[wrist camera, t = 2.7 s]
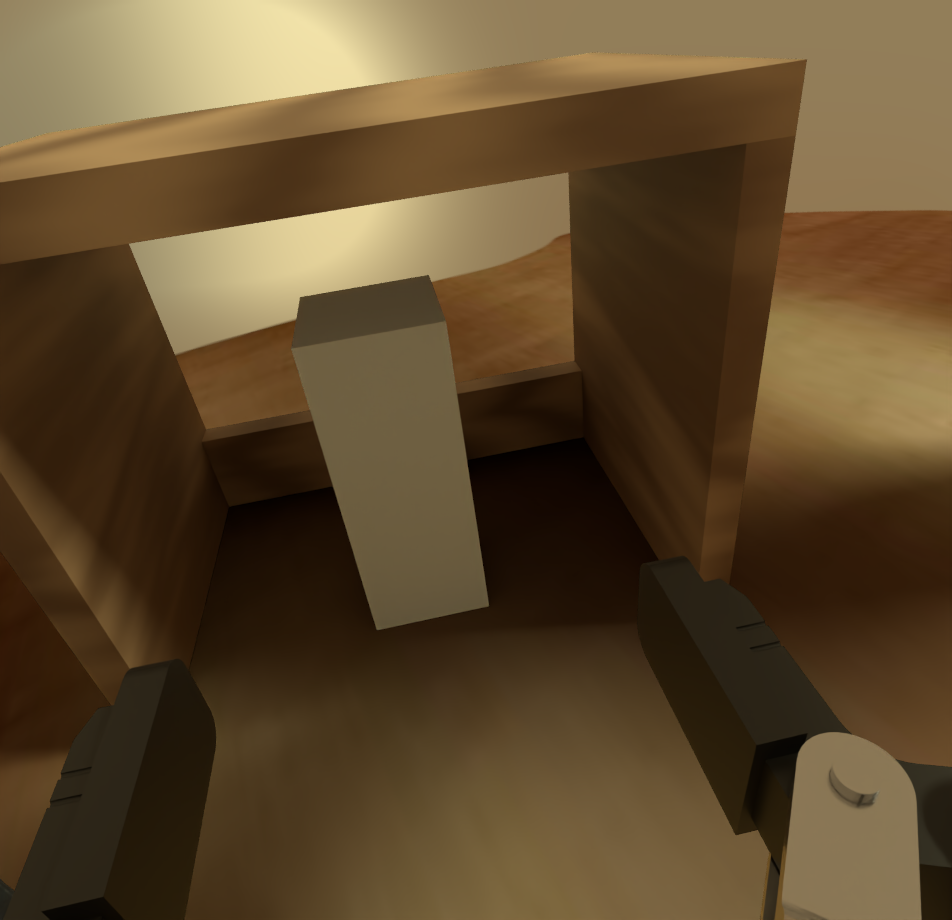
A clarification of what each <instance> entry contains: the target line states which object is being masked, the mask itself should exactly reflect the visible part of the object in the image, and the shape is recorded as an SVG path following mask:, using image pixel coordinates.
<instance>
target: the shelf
mask: <svg viewBox="0 0 952 920" xmlns="http://www.w3.org/2000/svg"><path fill="white" fill-rule="evenodd" d="M806 62H807V60H806V59H776V58H773V59H772V58H744V57H743V58H742V57H713V56H683V55H652V54H621V53H587V54H580V55H574V56H567V57H561V58H553V59H546V60H540V61H533V62H526V63H519V64H513V65H506V66H499V67H492V68H486V69H479V70H472V71H465V72H459V73H451V74H445V75H438V76H431V77H425V78H418V79H411V80H404V81H397V82H390V83H384V84H377V85H370V86H364V87H357V88H351V89H343V90H336V91H330V92H323V93H316V94H309V95H303V96H295V97H289V98H282V99H275V100H268V101H262V102H255V103H248V104H241V105H234V106H228V107H222V108H215V109H207V110H200V111H194V112H188V113H180V114H173V115H167V116H160V117H153V118H147V119H139V120H132V121H126V122H119V123H112V124H105V125H98V126H92V127H85V128H78V129H71V130H65V131H59V132H52V133H46V134H43V135H40V136H36V137H33V138H29V139H26V140H23V141H19V142H16V143H13V144H9V145H6V146H3V147H0V552H1V553H2V554H3V556H4V557H5V558H6V560H7V561H8V563H9V564H10V565H11V567H12V568H13V570H14V571H15V572H16V574H17V575H18V577H19V578H20V579H21V581H22V582H23V584H24V585H25V586H26V588H27V589H28V590H29V592H30V593H31V595H32V596H33V597H34V599H35V600H36V602H37V603H38V604H39V606H40V607H41V609H42V610H43V611H44V613H45V614H46V616H47V617H48V618H49V620H50V621H51V622H52V624H53V625H54V627H55V628H56V629H57V631H58V632H59V634H60V635H61V636H62V638H63V639H64V641H65V642H66V643H67V645H68V646H69V648H70V649H71V650H72V652H73V653H74V654H75V656H76V657H77V659H78V660H79V661H80V663H81V664H82V666H83V667H84V668H85V670H86V671H87V673H88V674H89V675H90V677H91V678H92V680H93V681H94V682H95V684H96V685H97V686H98V688H99V689H100V691H101V692H102V693H103V695H104V696H105V698H106V699H107V700H108V702H109V703H110V705H111V706H112V705H114V703H115V700H116V697H117V695H118V692H119V689H120V686H121V683H122V680H123V678H124V676H125V674H126V672H127V671H128V670H129V669H131V668H134V667H139V666H144V665H148V664H153V663H158V662H163V661H168V660H173V659H180V660H182V661H183V662H184V664H185V665H186V667H187V669H188V671H189V667H190V663H191V659H192V655H193V651H194V647H195V643H196V639H197V635H198V631H199V627H200V623H201V619H202V615H203V611H204V606H205V602H206V598H207V594H208V590H209V586H210V582H211V578H212V574H213V570H214V566H215V562H216V558H217V554H218V550H219V546H220V542H221V538H222V534H223V529H224V525H225V521H226V517H227V513H228V509H229V507H230V506H235V505H240V504H246V503H251V502H256V501H261V500H266V499H271V498H276V497H281V496H286V495H291V494H297V493H302V492H307V491H312V490H317V489H322V488H327V487H332V486H333V484H332V481H331V478H330V474H329V471H328V468H327V464H326V461H325V458H324V455H323V451H322V448H321V445H320V441H319V438H318V435H317V431H316V428H315V425H314V422H313V418H312V415H311V412H310V410H309V411H303V412H298V413H293V414H287V415H282V416H276V417H271V418H266V419H260V420H255V421H250V422H244V423H239V424H233V425H228V426H223V427H217V428H212V429H207V430H206V429H205V426H204V424H203V421H202V419H201V417H200V414H199V412H198V409H197V407H196V404H195V402H194V400H193V397H192V395H191V392H190V390H189V388H188V385H187V383H186V380H185V378H184V376H183V373H182V371H181V368H180V366H179V364H178V361H177V359H176V356H175V354H174V352H173V349H172V347H171V345H170V342H169V340H168V337H167V335H166V332H165V330H164V328H163V325H162V323H161V320H160V318H159V316H158V313H157V311H156V309H155V306H154V304H153V301H152V299H151V296H150V294H149V292H148V289H147V287H146V284H145V282H144V280H143V277H142V275H141V272H140V270H139V268H138V265H137V263H136V261H135V258H134V256H133V253H132V251H131V248H130V246H129V243H135V242H141V241H148V240H154V239H160V238H166V237H172V236H179V235H185V234H191V233H197V232H203V231H209V230H216V229H221V228H228V227H234V226H240V225H246V224H253V223H259V222H265V221H271V220H277V219H283V218H289V217H296V216H302V215H307V214H314V213H320V212H327V211H332V210H338V209H345V208H351V207H357V206H364V205H370V204H376V203H382V202H388V201H394V200H401V199H406V198H412V197H419V196H425V195H431V194H438V193H444V192H450V191H456V190H462V189H468V188H475V187H480V186H487V185H492V184H499V183H505V182H512V181H517V180H524V179H530V178H536V177H543V176H549V175H555V174H561V173H567V172H568V173H569V201H570V202H569V203H570V234H571V264H572V294H573V324H574V355H575V361H572V362H566V363H561V364H556V365H550V366H545V367H540V368H534V369H529V370H523V371H518V372H513V373H507V374H502V375H497V376H491V377H486V378H480V379H475V380H470V381H464V382H459V383H455V385H456V391H457V398H458V405H459V411H460V418H461V424H462V431H463V437H464V444H465V451H466V457H467V460H470V459H475V458H480V457H485V456H490V455H495V454H500V453H506V452H511V451H516V450H521V449H526V448H531V447H536V446H541V445H546V444H551V443H557V442H562V441H567V440H572V439H577V438H582V437H584V439H585V440H586V442H587V444H588V445H589V447H590V449H591V450H592V452H593V453H594V455H595V457H596V458H597V460H598V462H599V463H600V465H601V466H602V468H603V470H604V471H605V473H606V475H607V476H608V478H609V480H610V481H611V483H612V484H613V486H614V488H615V489H616V491H617V493H618V494H619V496H620V498H621V499H622V501H623V502H624V504H625V506H626V507H627V509H628V511H629V512H630V514H631V515H632V517H633V519H634V520H635V522H636V524H637V525H638V527H639V529H640V530H641V532H642V533H643V535H644V537H645V538H646V540H647V542H648V543H649V545H650V547H651V548H652V550H653V551H654V553H655V555H656V556H657V558H658V560H663V559H668V558H672V557H677V556H685V557H687V558H688V559H689V561H690V562H691V563H692V565H693V566H694V568H695V569H696V570H697V572H698V573H699V575H700V576H701V578H702V579H703V581H704V582H706V581H711V580H715V579H722V580H723V581H725V582H726V583H728V584H729V583H730V576H731V569H732V563H733V556H734V549H735V542H736V536H737V529H738V522H739V515H740V509H741V502H742V495H743V488H744V481H745V475H746V468H747V461H748V454H749V448H750V441H751V434H752V427H753V421H754V414H755V407H756V400H757V394H758V387H759V380H760V373H761V366H762V360H763V353H764V346H765V339H766V333H767V326H768V319H769V312H770V306H771V299H772V292H773V285H774V278H775V272H776V265H777V258H778V251H779V245H780V238H781V231H782V224H783V218H784V211H785V204H786V197H787V191H788V184H789V177H790V169H791V163H792V157H793V150H794V143H795V136H796V130H797V123H798V116H799V109H800V103H801V95H802V89H803V82H804V75H805V68H806Z"/></svg>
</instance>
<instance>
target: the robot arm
mask: <svg viewBox="0 0 952 920" xmlns="http://www.w3.org/2000/svg"><path fill="white" fill-rule="evenodd" d="M637 625H638V633H639V637H640V641H641V645H642V648H643V651H644V653H645V656H646V658H647V660H648V662H649V664H650V666H651V668H652V670H653V672H654V674H655V676H656V678H657V680H658V682H659V684H660V686H661V688H662V690H663V692H664V694H665V696H666V698H667V700H668V702H669V704H670V705H671V707H672V709H673V711H674V713H675V715H676V717H677V719H678V721H679V723H680V725H681V727H682V729H683V731H684V733H685V735H686V737H687V739H688V741H689V743H690V745H691V747H692V749H693V751H694V753H695V755H696V757H697V759H698V761H699V763H700V765H701V767H702V769H703V771H704V773H705V775H706V777H707V779H708V781H709V783H710V785H711V787H712V789H713V791H714V793H715V795H716V797H717V799H718V801H719V803H720V805H721V807H722V809H723V811H724V813H725V815H726V817H727V819H728V821H729V823H730V825H731V827H732V829H733V831H734V833H735V835H739V834H743V833H747V832H751V831H755V830H758V831H759V833H760V835H761V837H762V839H763V840H764V842H765V844H766V846H767V848H768V850H769V856H768V861H767V869H766V876H765V884H764V892H763V899H762V907H761V915H760V920H952V767H945V766H935V765H924V764H915V763H908V762H904V761H900V760H897V759H894V758H893V757H892V756H891V755H889V754H888V753H887V752H886V751H885V750H883V749H882V748H880V747H879V746H877V745H876V744H874V743H872V742H870V741H868V740H866V739H863V738H861V737H858V736H855V735H852V734H851V733H850V732H849V731H848V730H847V729H846V728H845V727H844V726H843V725H842V723H841V722H840V721H839V720H838V718H837V717H836V716H835V714H834V713H833V712H832V710H831V709H830V708H829V706H828V705H827V704H826V702H825V701H824V700H823V698H822V697H821V696H820V694H819V693H818V692H817V690H816V689H815V688H814V686H813V685H812V684H811V682H810V681H809V680H808V678H807V677H806V676H805V674H804V673H803V671H802V670H801V669H800V667H799V666H798V665H797V663H796V662H795V661H794V659H793V658H792V657H791V655H790V654H789V653H788V651H787V650H786V649H785V647H784V646H781V645H780V641H779V639H778V638H777V637H776V635H775V634H774V633H773V631H772V630H771V629H770V627H769V626H766V624H765V620H764V619H763V618H762V616H761V615H760V614H759V612H758V611H757V610H756V608H755V607H754V606H753V604H752V603H751V602H750V600H749V599H748V598H747V597H746V596H745V595H743V594H742V593H741V592H739V591H738V590H736V589H735V588H733V587H732V586H730V585H729V584H728V583H726V582H725V581H723V580H722V579H715V580H711V581H706V582H704V581H703V579H702V578H701V576H700V575H699V573H698V572H697V570H696V569H695V568H694V566H693V565H692V563H691V562H690V561H689V559H688V558H687V557H685V556H677V557H672V558H668V559H663V560H658V561H653V562H648V563H643V564H642V565H641V567H640V573H639V595H638V617H637ZM215 748H216V730H215V723H214V719H213V716H212V713H211V711H210V709H209V707H208V705H207V703H206V702H205V700H204V698H203V696H202V694H201V692H200V691H199V689H198V687H197V685H196V683H195V682H194V680H193V678H192V676H191V674H190V672H189V671H188V669H187V667H186V665H185V664H184V662H183V661H182V660H180V659H173V660H168V661H163V662H158V663H153V664H148V665H144V666H139V667H134V668H131V669H129V670H128V671H127V672H126V674H125V676H124V678H123V680H122V683H121V686H120V689H119V692H118V695H117V697H116V700H115V703H114V705H112V706H107V707H102V708H98V710H97V711H96V712H95V713H94V715H93V716H92V717H91V718H90V720H89V721H88V722H87V724H86V725H85V726H84V727H83V729H82V730H81V731H80V733H79V734H78V735H77V736H76V738H75V739H74V741H73V743H72V746H71V748H70V751H69V753H68V756H67V759H66V761H65V764H64V766H63V769H62V771H61V779H60V780H58V781H57V784H56V787H55V789H54V792H53V794H52V797H51V799H50V803H51V805H50V808H47V809H46V812H45V815H44V817H43V820H42V822H41V825H40V827H39V830H38V832H37V835H36V837H35V840H34V842H33V845H32V848H31V850H30V853H29V855H28V858H27V860H26V863H25V865H24V868H23V870H22V873H21V876H20V878H19V881H18V883H17V886H16V888H15V891H14V893H13V896H12V898H11V901H10V904H9V906H8V909H7V911H6V914H5V916H4V918H3V920H184V917H185V912H186V906H187V901H188V896H189V890H190V885H191V879H192V874H193V868H194V863H195V857H196V852H197V847H198V841H199V836H200V830H201V825H202V819H203V814H204V809H205V803H206V798H207V792H208V787H209V781H210V776H211V771H212V765H213V760H214V754H215Z"/></svg>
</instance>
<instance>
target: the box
mask: <svg viewBox="0 0 952 920" xmlns="http://www.w3.org/2000/svg"><path fill="white" fill-rule="evenodd" d="M13 893H14V890H13V889H11V888H10V887H9V886H7V885H6V884H5V883H4V882H3V881H2V880H1V879H0V920H3V918H4V916H5V914H6V911H7V909H8V906H9V904H10V901H11V898H12V896H13Z"/></svg>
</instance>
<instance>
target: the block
mask: <svg viewBox="0 0 952 920" xmlns="http://www.w3.org/2000/svg"><path fill="white" fill-rule="evenodd" d="M291 349H292V352H293V356H294V359H295V362H296V366H297V369H298V372H299V375H300V379H301V382H302V385H303V389H304V392H305V395H306V399H307V402H308V405H309V408H310V412H311V415H312V418H313V422H314V425H315V428H316V431H317V435H318V438H319V441H320V445H321V448H322V451H323V455H324V458H325V461H326V464H327V468H328V471H329V474H330V478H331V481H332V484H333V488H334V491H335V494H336V497H337V501H338V504H339V507H340V511H341V514H342V517H343V520H344V524H345V527H346V530H347V534H348V537H349V540H350V544H351V547H352V550H353V553H354V557H355V560H356V563H357V567H358V570H359V573H360V576H361V580H362V583H363V586H364V590H365V593H366V596H367V600H368V603H369V606H370V609H371V613H372V616H373V619H374V623H375V626H376V629H377V630H381V629H386V628H390V627H395V626H399V625H404V624H409V623H413V622H418V621H423V620H427V619H432V618H437V617H441V616H446V615H451V614H455V613H460V612H464V611H469V610H474V609H478V608H483V607H488V606H489V602H488V595H487V589H486V582H485V576H484V569H483V562H482V556H481V549H480V543H479V536H478V530H477V523H476V516H475V510H474V503H473V497H472V490H471V483H470V477H469V470H468V464H467V457H466V451H465V444H464V437H463V431H462V424H461V418H460V411H459V405H458V398H457V391H456V385H455V378H454V372H453V365H452V359H451V352H450V345H449V339H448V332H447V326H446V320H445V318H444V315H443V312H442V310H441V307H440V304H439V301H438V299H437V296H436V293H435V291H434V288H433V285H432V283H431V280H430V278H429V275H427V276H421V277H415V278H409V279H403V280H398V281H392V282H387V283H380V284H374V285H369V286H363V287H357V288H351V289H346V290H340V291H334V292H328V293H322V294H317V295H311V296H305V297H300V301H299V308H298V313H297V319H296V325H295V331H294V337H293V342H292V348H291Z"/></svg>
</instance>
